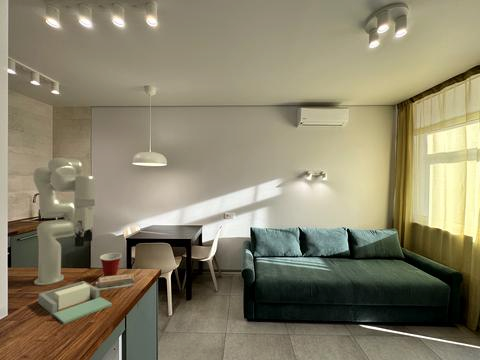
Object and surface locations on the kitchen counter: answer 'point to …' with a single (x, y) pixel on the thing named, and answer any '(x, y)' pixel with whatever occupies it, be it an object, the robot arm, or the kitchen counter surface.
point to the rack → (48, 297)
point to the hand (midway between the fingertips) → (83, 243)
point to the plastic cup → (110, 263)
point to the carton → (72, 296)
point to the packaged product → (115, 282)
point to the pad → (81, 310)
